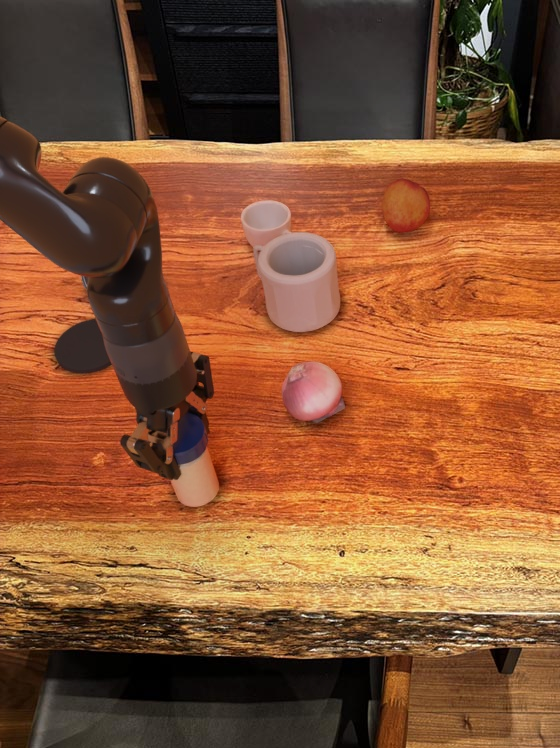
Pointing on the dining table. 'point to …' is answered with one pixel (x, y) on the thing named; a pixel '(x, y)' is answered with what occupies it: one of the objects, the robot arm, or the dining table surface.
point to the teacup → (265, 221)
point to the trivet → (82, 348)
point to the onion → (312, 392)
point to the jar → (196, 481)
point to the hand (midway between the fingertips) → (186, 453)
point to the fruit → (405, 205)
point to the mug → (299, 280)
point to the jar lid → (189, 439)
